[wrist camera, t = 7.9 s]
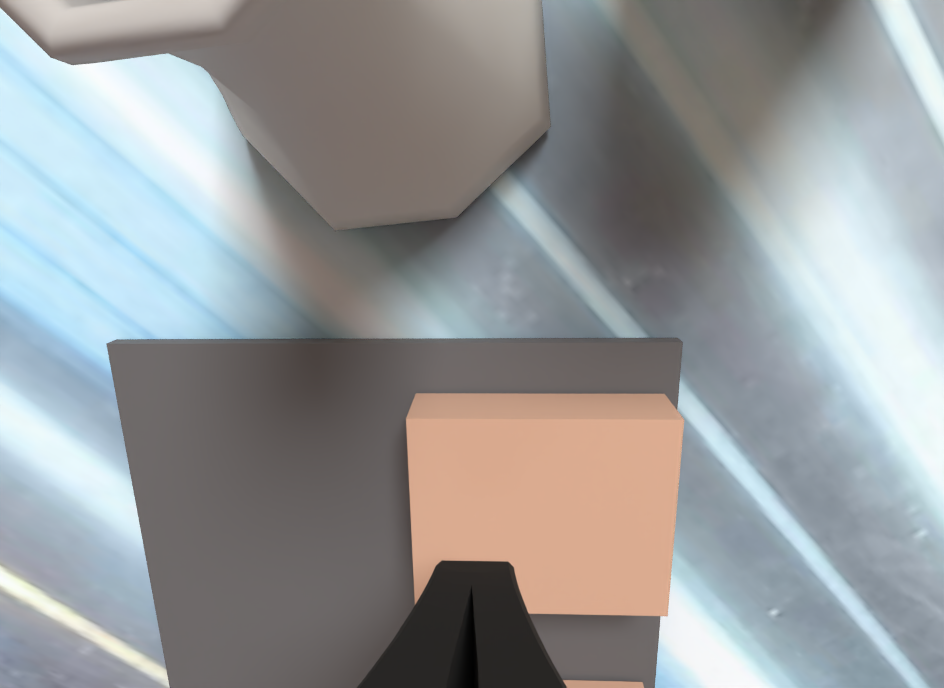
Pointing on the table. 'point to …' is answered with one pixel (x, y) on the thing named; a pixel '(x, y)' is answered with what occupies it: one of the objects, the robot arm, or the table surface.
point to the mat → (328, 495)
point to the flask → (343, 87)
